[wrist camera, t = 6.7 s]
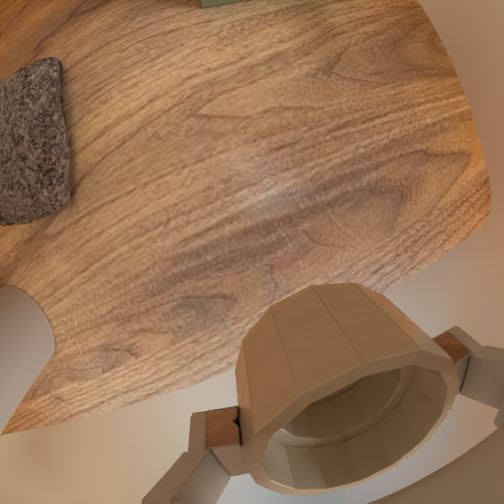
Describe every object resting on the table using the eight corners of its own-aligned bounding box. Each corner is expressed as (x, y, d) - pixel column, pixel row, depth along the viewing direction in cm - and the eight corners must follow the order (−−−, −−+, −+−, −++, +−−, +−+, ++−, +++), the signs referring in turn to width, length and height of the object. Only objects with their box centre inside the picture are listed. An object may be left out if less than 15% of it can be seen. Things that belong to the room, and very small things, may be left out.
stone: (-7, 99, 14) (-34, 92, 10) (74, 57, 14) (51, 39, 11) (3, 230, 17) (-26, 241, 13) (85, 206, 18) (58, 214, 14)
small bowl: (389, 253, 10) (475, 309, 5) (390, 381, 11) (436, 448, 7) (213, 304, 9) (209, 405, 5) (259, 424, 11) (273, 509, 7)
